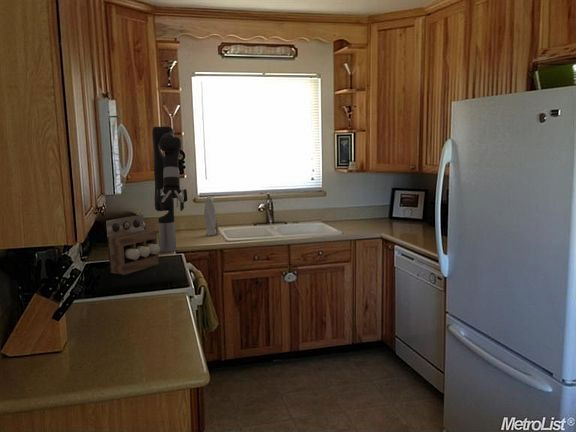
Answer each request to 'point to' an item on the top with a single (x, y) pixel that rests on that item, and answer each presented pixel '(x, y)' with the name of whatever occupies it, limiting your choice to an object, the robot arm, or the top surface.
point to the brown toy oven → (129, 244)
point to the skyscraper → (210, 217)
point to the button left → (131, 253)
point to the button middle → (143, 251)
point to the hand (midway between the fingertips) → (172, 210)
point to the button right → (153, 248)
